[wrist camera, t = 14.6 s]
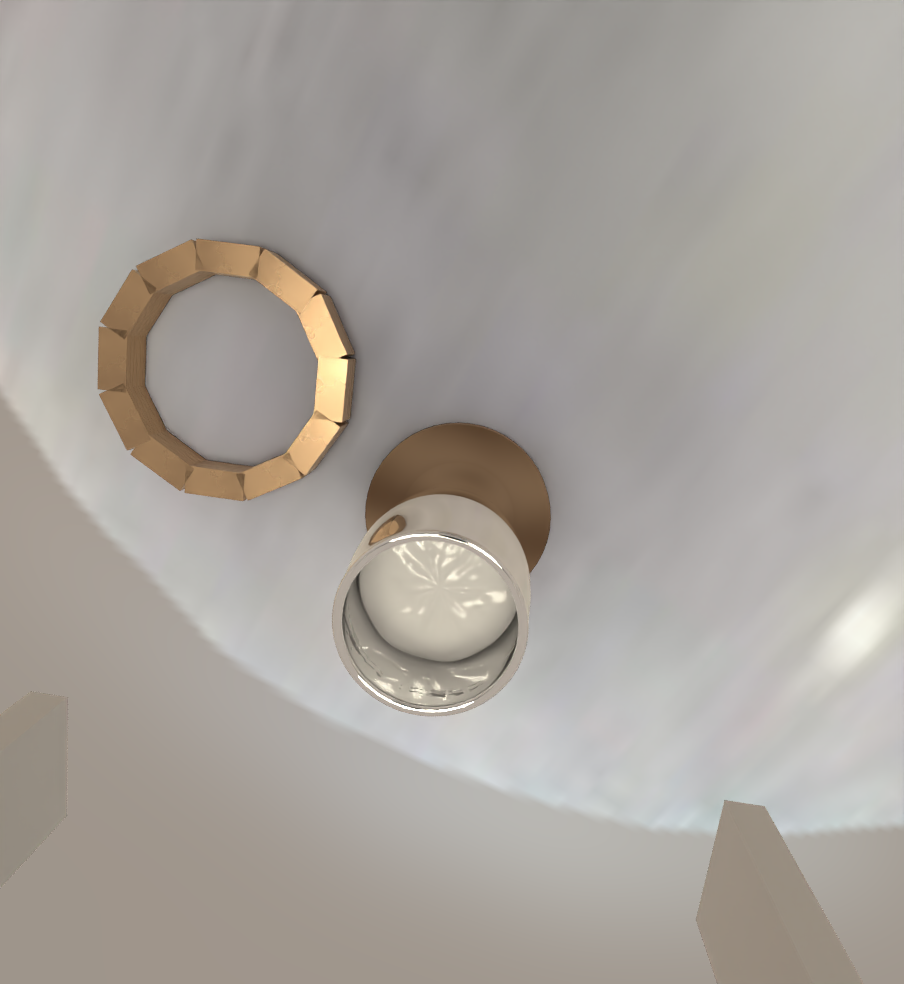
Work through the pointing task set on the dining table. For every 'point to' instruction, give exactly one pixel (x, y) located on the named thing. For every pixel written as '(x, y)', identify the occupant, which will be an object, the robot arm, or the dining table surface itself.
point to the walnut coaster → (474, 449)
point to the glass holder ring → (128, 357)
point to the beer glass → (437, 596)
